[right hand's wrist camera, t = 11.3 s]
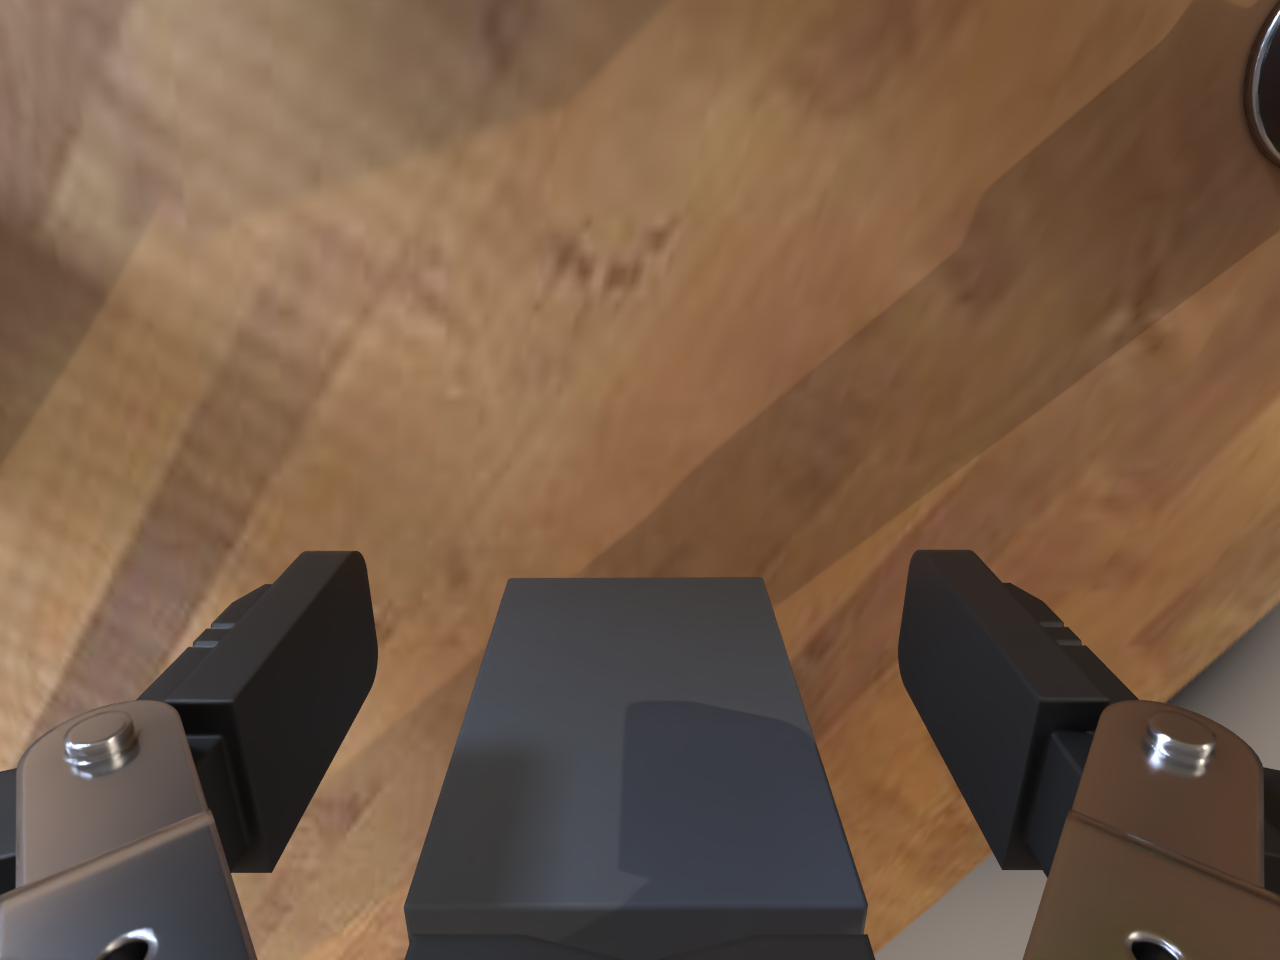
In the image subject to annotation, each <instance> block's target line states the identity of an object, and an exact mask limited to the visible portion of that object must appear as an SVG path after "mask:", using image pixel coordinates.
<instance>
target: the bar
mask: <svg viewBox="0 0 1280 960" xmlns="http://www.w3.org/2000/svg"><path fill="white" fill-rule="evenodd" d="M867 907H868V903H867V900H866V897H865V894H864V891H863V888H862V885H861V882H860V879H859V875H858V872H857V869H856V866H855V863H854V860H853V857H852V854H851V851H850V848H849V844H848V841H847V838H846V835H845V832H844V829H843V826H842V823H841V820H840V816H839V813H838V810H837V807H836V804H835V801H834V798H833V795H832V792H831V789H830V785H829V782H828V779H827V776H826V773H825V770H824V767H823V764H822V761H821V757H820V754H819V751H818V748H817V745H816V742H815V739H814V736H813V733H812V730H811V726H810V723H809V720H808V717H807V714H806V711H805V708H804V705H803V702H802V699H801V695H800V692H799V689H798V686H797V683H796V680H795V677H794V674H793V671H792V667H791V664H790V661H789V658H788V655H787V652H786V649H785V646H784V643H783V640H782V636H781V633H780V630H779V627H778V624H777V621H776V618H775V615H774V612H773V608H772V605H771V602H770V599H769V596H768V593H767V590H766V587H765V584H764V581H763V579H762V578H760V577H751V578H511V579H509V580H508V582H507V585H506V588H505V591H504V594H503V598H502V601H501V604H500V607H499V610H498V613H497V616H496V619H495V623H494V626H493V629H492V632H491V635H490V638H489V641H488V645H487V648H486V651H485V654H484V657H483V660H482V663H481V667H480V670H479V673H478V676H477V679H476V682H475V685H474V688H473V692H472V695H471V698H470V701H469V704H468V707H467V710H466V714H465V717H464V720H463V723H462V726H461V729H460V732H459V736H458V739H457V742H456V745H455V748H454V751H453V754H452V757H451V761H450V764H449V767H448V770H447V773H446V776H445V779H444V783H443V786H442V789H441V792H440V795H439V798H438V801H437V805H436V808H435V811H434V814H433V817H432V820H431V823H430V826H429V830H428V833H427V836H426V839H425V842H424V845H423V848H422V852H421V855H420V858H419V861H418V864H417V867H416V870H415V874H414V877H413V880H412V883H411V886H410V889H409V892H408V895H407V899H406V902H405V905H404V912H405V918H406V925H407V931H408V937H409V944H410V941H411V938H412V934H524V935H528V936H532V937H536V938H540V939H544V940H548V941H552V942H556V943H560V944H564V945H568V946H572V947H575V948H579V949H583V950H587V951H591V952H595V953H599V954H603V955H607V956H611V957H615V958H619V959H623V960H657V959H661V958H665V957H669V956H673V955H677V954H681V953H685V952H689V951H693V950H697V949H701V948H705V947H708V946H712V945H716V944H720V943H724V942H728V941H732V940H736V939H740V938H744V937H748V936H752V935H756V934H864V927H865V920H866V913H867Z"/></svg>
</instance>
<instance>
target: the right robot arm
mask: <svg viewBox="0 0 1280 960" xmlns="http://www.w3.org/2000/svg"><path fill="white" fill-rule="evenodd" d="M1244 107H1245V115H1246V119H1247V123H1248V126H1249V130H1250V132H1251V134H1252V137H1253V139H1254V141H1255V142H1256V144H1257V146H1258V147H1259V149H1260V150H1261V151H1262V152H1263V153H1264V155H1265V156H1266V157H1267V158H1268V159H1269V160H1271V161H1272V162H1273V163H1274V164H1276V165H1277V166H1279V167H1280V0H1279V2H1278V3H1277V4H1276V6H1275V7H1274V8H1273V10H1272V11H1271V13H1270V15H1269V16H1268V18H1267V19H1266V21H1265V23H1264V25H1263V26H1262V28H1261V30H1260V32H1259V34H1258V37H1257V39H1256V41H1255V43H1254V46H1253V49H1252V52H1251V55H1250V58H1249V62H1248V66H1247V70H1246V76H1245V83H1244ZM898 660H899V668H900V673H901V677H902V681H903V684H904V686H905V688H906V690H907V692H908V694H909V696H910V698H911V700H912V701H913V703H914V705H915V707H916V709H917V711H918V713H919V715H920V716H921V718H922V720H923V722H924V724H925V726H926V728H927V730H928V731H929V733H930V735H931V737H932V739H933V741H934V743H935V745H936V746H937V748H938V750H939V752H940V754H941V756H942V758H943V760H944V761H945V763H946V765H947V767H948V769H949V771H950V773H951V775H952V776H953V778H954V780H955V782H956V784H957V786H958V788H959V790H960V791H961V793H962V795H963V797H964V799H965V801H966V803H967V805H968V806H969V808H970V810H971V812H972V814H973V816H974V818H975V820H976V821H977V823H978V825H979V827H980V829H981V831H982V833H983V835H984V836H985V838H986V840H987V842H988V844H989V846H990V848H991V850H992V851H993V853H994V855H995V857H996V859H997V861H998V863H999V865H1000V866H1001V868H1002V870H1043V871H1044V873H1045V875H1046V876H1047V878H1048V879H1047V882H1046V886H1045V889H1044V892H1043V895H1042V899H1041V902H1040V905H1039V908H1038V912H1037V915H1036V918H1035V921H1034V924H1033V928H1032V931H1031V934H1030V938H1029V941H1028V944H1027V947H1026V950H1025V954H1024V957H1023V960H1280V771H1279V770H1274V769H1269V768H1264V767H1263V766H1262V763H1261V761H1260V759H1259V757H1258V756H1257V754H1256V753H1255V752H1254V750H1253V749H1252V748H1251V747H1250V746H1249V745H1248V744H1247V743H1246V742H1245V741H1244V740H1242V739H1241V738H1240V737H1239V736H1237V735H1236V734H1235V733H1233V732H1232V731H1230V730H1229V729H1227V728H1225V727H1224V726H1222V725H1220V724H1219V723H1217V722H1215V721H1213V720H1211V719H1209V718H1207V717H1205V716H1202V715H1200V714H1198V713H1195V712H1192V711H1190V710H1187V709H1184V708H1181V707H1177V706H1174V705H1170V704H1166V703H1161V702H1155V701H1147V700H1139V699H1138V698H1137V697H1136V696H1135V695H1134V694H1133V693H1132V692H1131V691H1130V690H1129V689H1128V688H1127V687H1126V686H1125V685H1124V684H1123V683H1122V682H1121V681H1120V680H1119V679H1118V678H1117V677H1116V676H1115V675H1114V674H1113V673H1112V672H1111V671H1110V670H1109V669H1108V668H1107V667H1106V665H1105V664H1104V663H1103V662H1102V661H1101V660H1100V659H1099V658H1098V657H1097V656H1096V655H1095V654H1094V653H1093V652H1092V651H1091V650H1090V649H1089V648H1088V647H1087V646H1082V644H1081V640H1080V639H1079V638H1078V637H1077V636H1076V635H1075V634H1074V633H1073V632H1072V631H1071V630H1070V629H1069V628H1068V627H1064V623H1063V622H1062V621H1061V620H1060V619H1059V617H1058V616H1057V615H1056V614H1055V613H1054V612H1053V611H1052V610H1051V609H1050V608H1049V607H1048V606H1047V605H1046V604H1045V603H1044V602H1043V601H1041V600H1039V599H1038V598H1036V597H1034V596H1032V595H1031V594H1029V593H1027V592H1025V591H1023V590H1022V589H1020V588H1018V587H1016V586H1015V585H1013V584H1011V583H1002V582H1001V581H1000V580H999V579H998V578H997V577H996V575H995V574H994V573H993V572H992V571H991V570H990V569H989V568H988V567H987V566H986V565H985V564H984V562H983V561H982V560H981V559H980V558H979V557H978V556H977V555H976V554H975V553H974V552H973V551H971V550H917V551H916V552H915V553H914V554H913V556H912V558H911V561H910V566H909V572H908V579H907V586H906V593H905V600H904V607H903V615H902V622H901V629H900V636H899V644H898ZM377 662H378V645H377V637H376V630H375V623H374V616H373V609H372V602H371V595H370V588H369V581H368V574H367V568H366V563H365V560H364V558H363V556H362V554H361V553H360V552H358V551H305V552H303V553H302V554H300V555H299V556H298V558H297V559H296V560H295V561H294V562H293V563H292V564H291V565H290V566H289V567H288V568H287V569H286V570H285V571H284V573H283V574H282V575H281V576H280V577H279V578H278V579H277V580H276V581H275V582H274V583H273V584H265V585H263V586H261V587H259V588H258V589H256V590H254V591H252V592H251V593H249V594H247V595H245V596H243V597H242V598H240V599H238V600H236V601H234V602H233V603H232V604H231V605H230V606H229V607H228V608H227V609H226V610H225V611H224V612H223V613H222V614H221V615H220V616H219V617H218V618H217V619H216V620H215V621H214V622H213V623H212V624H211V629H206V630H205V631H204V632H203V633H202V634H201V635H200V636H199V637H198V638H197V639H196V640H195V641H194V642H193V647H188V648H187V649H186V650H185V651H184V652H183V653H182V654H181V655H180V656H179V657H178V658H177V659H176V660H175V661H174V662H173V663H172V664H171V665H170V666H169V667H168V668H167V669H166V670H165V671H164V672H163V673H162V674H161V675H160V676H159V677H158V678H157V679H156V680H155V681H154V682H153V683H152V684H151V685H150V686H149V688H148V689H147V690H146V691H145V692H144V693H143V694H142V695H141V696H140V697H139V698H138V699H137V700H133V701H125V702H119V703H114V704H110V705H106V706H103V707H99V708H96V709H93V710H90V711H88V712H85V713H82V714H80V715H78V716H75V717H73V718H71V719H69V720H67V721H65V722H63V723H61V724H60V725H58V726H56V727H55V728H53V729H51V730H50V731H48V732H47V733H45V734H44V735H43V736H41V737H40V738H39V739H38V740H36V741H35V742H34V743H33V744H32V745H31V746H30V747H29V748H28V749H27V750H26V752H25V753H24V754H23V756H22V757H21V759H20V761H19V763H18V766H17V768H15V769H11V770H6V771H1V772H0V960H257V957H256V954H255V950H254V947H253V944H252V941H251V937H250V934H249V931H248V928H247V924H246V921H245V918H244V915H243V912H242V908H241V905H240V902H239V899H238V895H237V892H236V889H235V886H234V882H233V879H232V876H231V873H272V871H273V869H274V868H275V866H276V864H277V862H278V860H279V858H280V856H281V855H282V853H283V851H284V849H285V847H286V845H287V843H288V842H289V840H290V838H291V836H292V834H293V832H294V830H295V829H296V827H297V825H298V823H299V821H300V819H301V817H302V816H303V814H304V812H305V810H306V808H307V806H308V805H309V803H310V801H311V799H312V797H313V795H314V793H315V792H316V790H317V788H318V786H319V784H320V782H321V780H322V779H323V777H324V775H325V773H326V771H327V769H328V767H329V766H330V764H331V762H332V760H333V758H334V756H335V754H336V753H337V751H338V749H339V747H340V745H341V743H342V742H343V740H344V738H345V736H346V734H347V732H348V730H349V729H350V727H351V725H352V723H353V721H354V719H355V717H356V716H357V714H358V712H359V710H360V708H361V706H362V704H363V703H364V701H365V699H366V697H367V695H368V693H369V691H370V690H371V687H372V685H373V682H374V679H375V675H376V670H377ZM405 960H623V959H619V958H615V957H611V956H607V955H603V954H599V953H595V952H591V951H587V950H583V949H579V948H575V947H572V946H568V945H564V944H560V943H556V942H552V941H548V940H544V939H540V938H536V937H532V936H528V935H524V934H412V938H411V941H410V944H409V948H408V951H407V954H406V957H405ZM657 960H875V957H874V954H873V951H872V948H871V944H870V941H869V938H868V934H756V935H752V936H748V937H744V938H740V939H736V940H732V941H728V942H724V943H720V944H716V945H712V946H708V947H705V948H701V949H697V950H693V951H689V952H685V953H681V954H677V955H673V956H669V957H665V958H661V959H657Z"/></svg>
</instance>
